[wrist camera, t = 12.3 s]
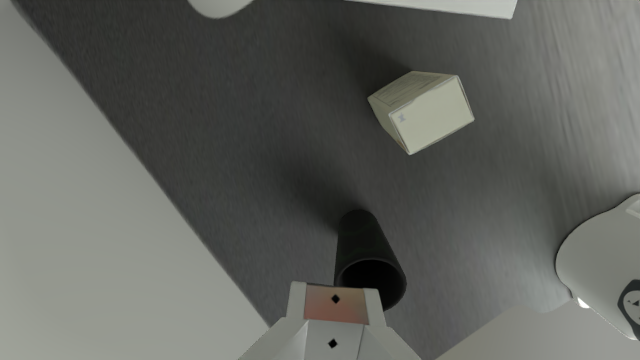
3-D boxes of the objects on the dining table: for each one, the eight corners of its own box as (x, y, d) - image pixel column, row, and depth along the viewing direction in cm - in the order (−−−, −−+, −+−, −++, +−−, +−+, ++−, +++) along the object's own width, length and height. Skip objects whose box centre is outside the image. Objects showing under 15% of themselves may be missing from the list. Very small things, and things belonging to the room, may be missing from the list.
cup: (377, 196, 41) (396, 248, 30) (391, 241, 44) (414, 304, 33) (324, 212, 42) (323, 268, 31) (341, 255, 45) (346, 321, 34)
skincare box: (382, 128, 38) (406, 159, 26) (365, 97, 36) (383, 115, 25) (430, 100, 36) (477, 121, 25) (415, 67, 35) (458, 73, 24)
